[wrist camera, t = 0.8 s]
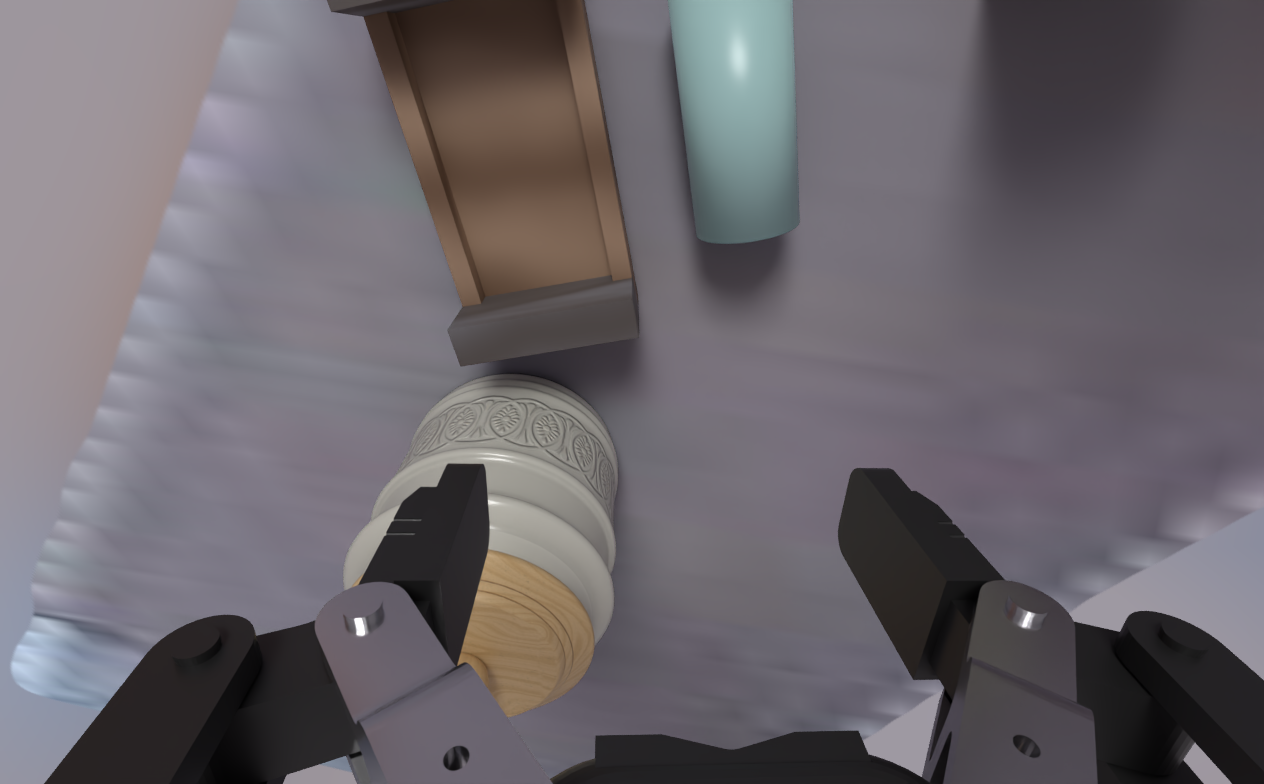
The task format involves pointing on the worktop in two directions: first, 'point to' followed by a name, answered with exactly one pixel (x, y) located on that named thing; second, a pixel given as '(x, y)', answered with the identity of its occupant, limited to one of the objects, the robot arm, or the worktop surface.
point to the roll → (738, 115)
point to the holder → (511, 168)
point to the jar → (522, 529)
